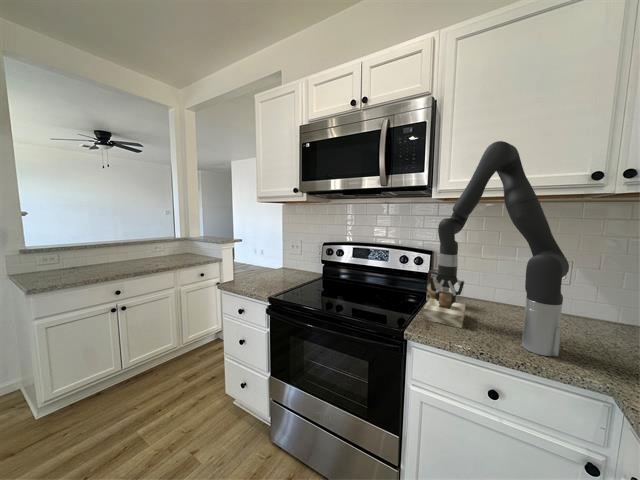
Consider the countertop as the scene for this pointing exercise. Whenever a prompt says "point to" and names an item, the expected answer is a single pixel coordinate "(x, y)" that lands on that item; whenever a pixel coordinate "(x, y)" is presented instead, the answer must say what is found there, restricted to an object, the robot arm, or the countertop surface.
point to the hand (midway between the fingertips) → (445, 301)
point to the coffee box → (431, 293)
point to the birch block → (444, 313)
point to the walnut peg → (445, 299)
